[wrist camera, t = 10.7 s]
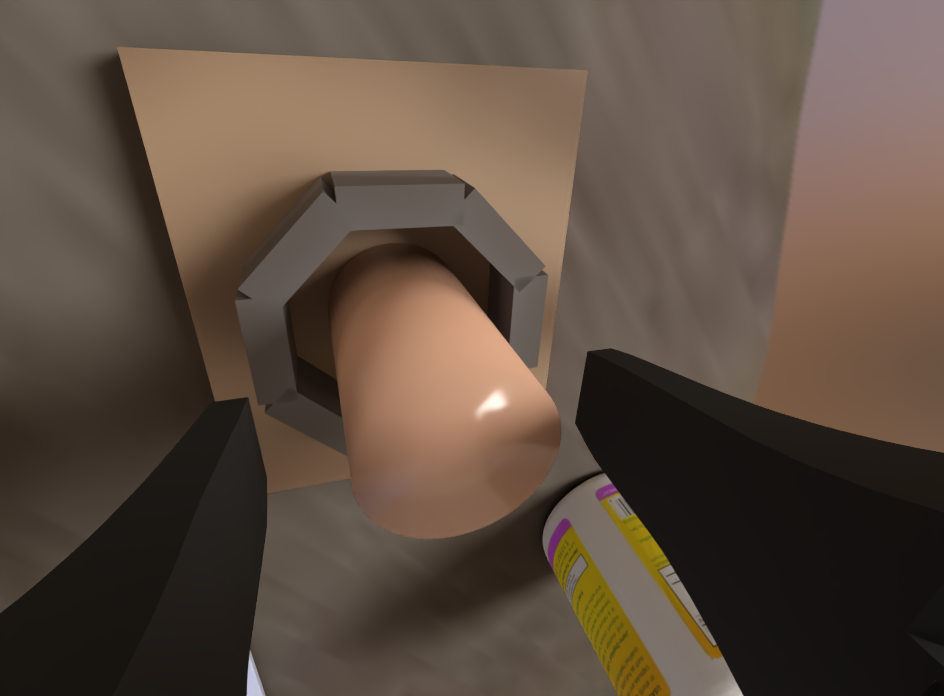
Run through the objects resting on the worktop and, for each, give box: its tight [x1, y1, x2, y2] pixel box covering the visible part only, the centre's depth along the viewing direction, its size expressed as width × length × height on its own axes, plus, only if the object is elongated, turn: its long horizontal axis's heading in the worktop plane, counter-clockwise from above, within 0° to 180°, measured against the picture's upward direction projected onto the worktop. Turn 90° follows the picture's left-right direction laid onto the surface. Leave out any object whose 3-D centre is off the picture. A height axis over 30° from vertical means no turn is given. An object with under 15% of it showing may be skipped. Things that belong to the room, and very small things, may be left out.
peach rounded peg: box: [328, 243, 561, 539], centre depth 12 cm, size 4×4×7 cm
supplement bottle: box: [543, 473, 743, 696], centre depth 19 cm, size 7×7×13 cm
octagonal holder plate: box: [117, 47, 588, 494], centre depth 14 cm, size 13×11×3 cm
